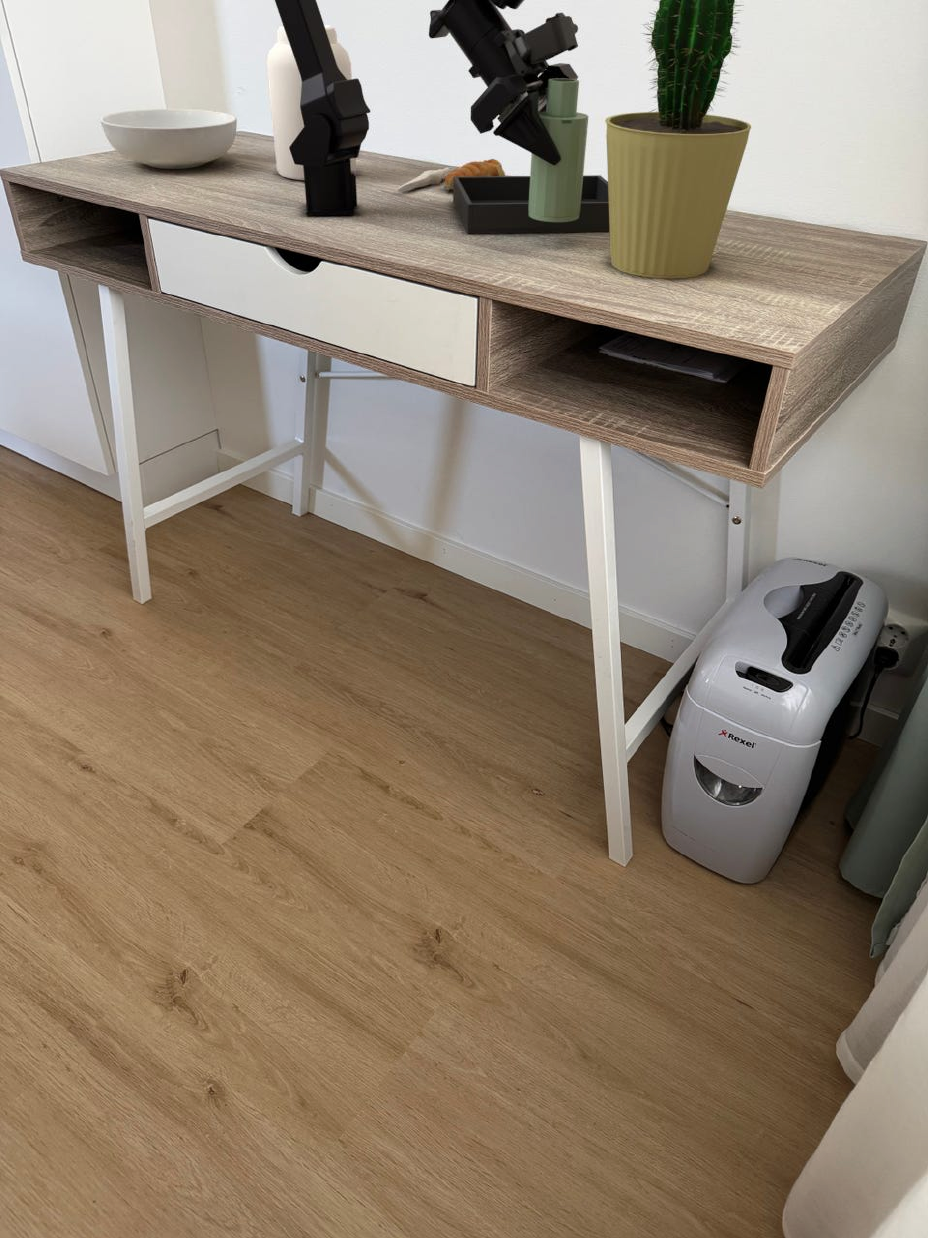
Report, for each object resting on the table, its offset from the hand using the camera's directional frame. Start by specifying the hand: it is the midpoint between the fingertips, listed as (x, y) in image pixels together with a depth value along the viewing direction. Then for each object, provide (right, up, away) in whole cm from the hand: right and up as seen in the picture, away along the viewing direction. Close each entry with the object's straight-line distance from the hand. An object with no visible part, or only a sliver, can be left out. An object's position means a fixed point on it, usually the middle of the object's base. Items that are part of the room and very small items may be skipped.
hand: (568, 157), depth 109 cm
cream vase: (-36, +16, +38) cm, 55 cm away
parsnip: (-18, +12, +33) cm, 39 cm away
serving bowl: (-60, +20, +43) cm, 76 cm away
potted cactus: (+10, -13, -1) cm, 17 cm away
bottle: (-1, -5, +4) cm, 7 cm away
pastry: (-10, +11, +31) cm, 34 cm away
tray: (-2, +1, +17) cm, 17 cm away
